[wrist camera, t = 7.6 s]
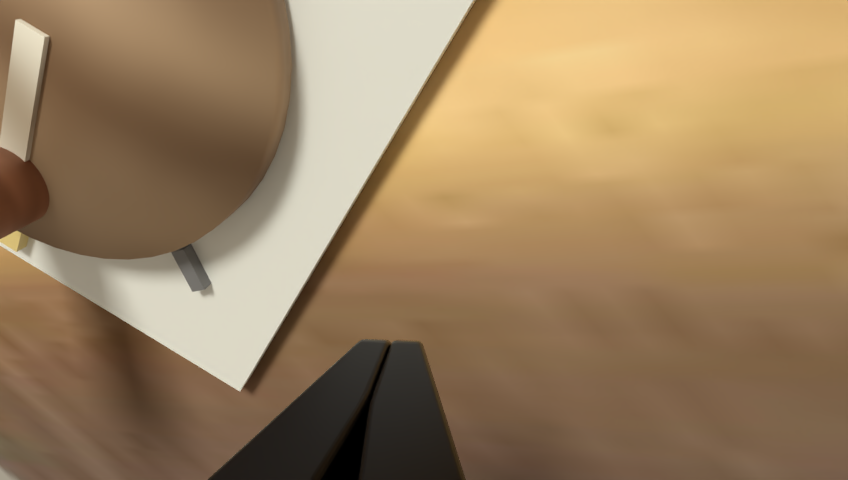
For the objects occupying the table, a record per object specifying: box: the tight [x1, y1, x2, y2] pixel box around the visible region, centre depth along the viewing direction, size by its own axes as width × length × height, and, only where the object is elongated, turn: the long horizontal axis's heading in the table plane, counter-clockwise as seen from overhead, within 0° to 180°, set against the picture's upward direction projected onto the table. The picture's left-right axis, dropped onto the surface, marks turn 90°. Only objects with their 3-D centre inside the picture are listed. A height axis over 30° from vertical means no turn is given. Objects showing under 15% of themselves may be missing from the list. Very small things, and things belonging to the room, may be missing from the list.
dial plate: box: [0, 0, 476, 391], centre depth 19 cm, size 22×22×1 cm
